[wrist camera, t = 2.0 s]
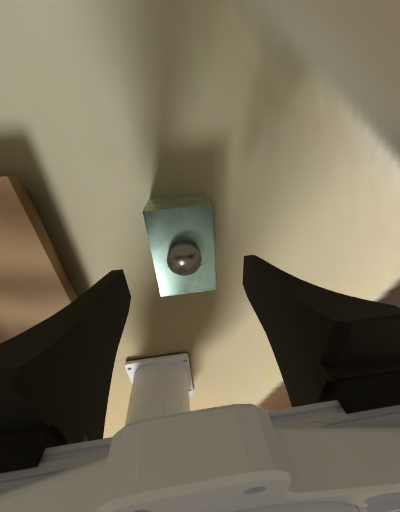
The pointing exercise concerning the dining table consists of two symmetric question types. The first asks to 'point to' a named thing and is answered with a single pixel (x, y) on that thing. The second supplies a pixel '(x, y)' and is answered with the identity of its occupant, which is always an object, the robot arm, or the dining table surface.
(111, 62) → the dining table surface
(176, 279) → the block
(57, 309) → the stand
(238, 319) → the dining table surface
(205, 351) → the dining table surface
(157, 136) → the dining table surface
